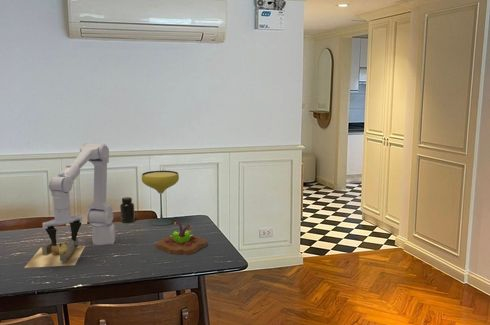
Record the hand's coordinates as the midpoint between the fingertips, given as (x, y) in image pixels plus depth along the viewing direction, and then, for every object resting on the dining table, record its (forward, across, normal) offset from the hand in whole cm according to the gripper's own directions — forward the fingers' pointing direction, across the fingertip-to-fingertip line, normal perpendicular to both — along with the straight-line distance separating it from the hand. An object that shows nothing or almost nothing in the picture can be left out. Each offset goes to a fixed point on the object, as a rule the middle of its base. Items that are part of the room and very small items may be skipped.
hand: (64, 242), depth 179 cm
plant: (+10, -45, +14) cm, 48 cm away
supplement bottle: (+9, -49, -36) cm, 61 cm away
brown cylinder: (+8, -2, -12) cm, 14 cm away
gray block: (+9, 0, -15) cm, 17 cm away
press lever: (+7, -5, -7) cm, 11 cm away
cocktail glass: (+9, -60, -22) cm, 64 cm away
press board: (+9, -1, -10) cm, 13 cm away
